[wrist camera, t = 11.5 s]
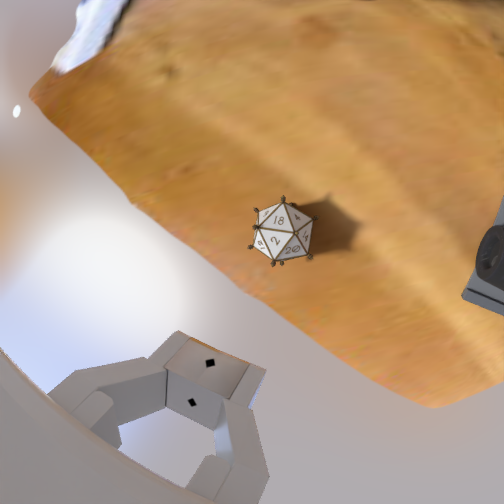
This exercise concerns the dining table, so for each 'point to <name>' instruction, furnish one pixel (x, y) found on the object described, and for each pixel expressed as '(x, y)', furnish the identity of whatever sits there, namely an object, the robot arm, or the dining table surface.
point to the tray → (482, 290)
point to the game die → (282, 232)
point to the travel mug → (491, 257)
